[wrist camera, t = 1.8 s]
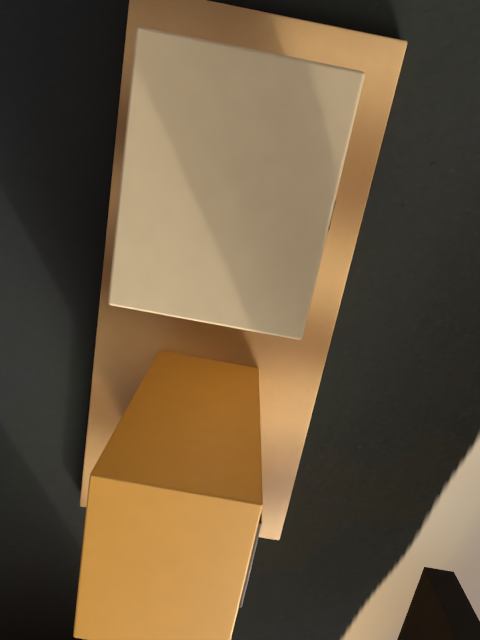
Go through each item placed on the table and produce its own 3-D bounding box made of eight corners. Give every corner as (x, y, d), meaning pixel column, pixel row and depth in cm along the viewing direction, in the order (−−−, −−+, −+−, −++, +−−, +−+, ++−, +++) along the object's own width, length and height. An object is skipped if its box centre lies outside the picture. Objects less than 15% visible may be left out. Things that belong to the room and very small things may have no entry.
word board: (134, -10, 15) (130, -16, 14) (403, 44, 15) (408, 40, 15) (83, 499, 21) (79, 506, 20) (278, 532, 21) (279, 541, 20)
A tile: (194, 102, 15) (135, 24, 8) (316, 126, 16) (377, 72, 8) (173, 249, 17) (106, 305, 9) (285, 270, 17) (312, 343, 9)
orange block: (158, 349, 18) (89, 474, 10) (264, 368, 18) (272, 505, 10) (143, 458, 19) (72, 638, 12) (240, 475, 20) (233, 664, 12)
